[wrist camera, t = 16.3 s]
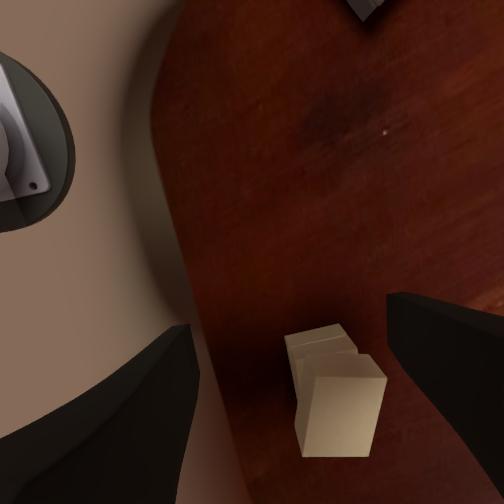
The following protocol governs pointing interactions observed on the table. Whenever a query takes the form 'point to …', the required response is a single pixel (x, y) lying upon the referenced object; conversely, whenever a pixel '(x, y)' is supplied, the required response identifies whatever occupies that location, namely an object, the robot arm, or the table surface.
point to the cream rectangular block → (338, 404)
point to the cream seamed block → (315, 347)
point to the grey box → (364, 7)
